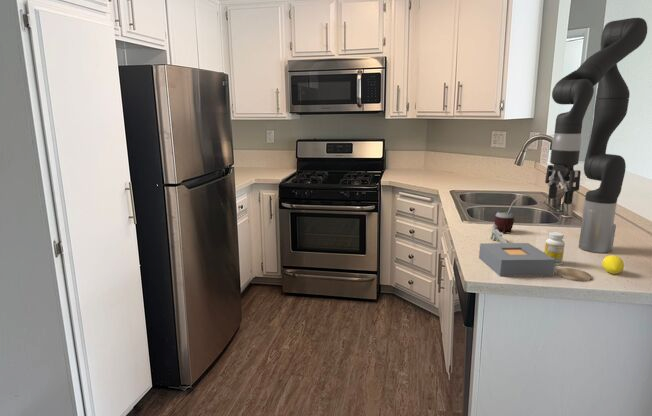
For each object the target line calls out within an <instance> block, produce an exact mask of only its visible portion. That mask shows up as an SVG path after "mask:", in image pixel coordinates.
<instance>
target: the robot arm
mask: <svg viewBox="0 0 652 416" xmlns="http://www.w3.org/2000/svg"><path fill="white" fill-rule="evenodd" d="M647 34H648V24H647V21H646V20H645V19H644V18H641V17H630V18H624V19H618V20H617V19H616V20H611V21H609V22H607V23H606V24H605V25H604V28H603V29H602V33H601V38H600V50H599V51H597V52H594V53H593V54H592V55H590V56H589V57H588V58H586V60H584V61H583V62H582V63H581V64H580V66H578V68H577V69H576V70H573V71H572V72H570V73H569V74H567V75H565V76H564V77H562V78H561V79H560V80H558V81H557V82H556V83H555V85H554V87H553V88H552V92H551V97H552V100H553V101H554V103H556V104H558V105H573V106H572V107H571V109H570V110H569V111H566V112H562V113H559V114H558V115H557V116H556V118H555V125H554V134H553V137H552V142H551V143H552V144H551V152H550V160H549V162H550V164H548V165H547V167H546V173H545V174H546V175H545V181H544V182H545V184H547V186H548V196H547V197H548V199H550V200H551V199H554V200H555V199H556V198H557V193H558V185H559V184H561V186H563V189H564V194H563V202H562V203H563V204H564V205H571V204H572V202H573V198H574V193H575V192H577V191H580V184H581V182H580V181H581V173H582V171H581V170H578V169H577V170H575V168H574V167H575V166H577V165H578V164H579V158H580V153H581V145H582V144H581V143H582V129H583V121H584V117H585V116H586V113H587V111H588V107H589V106H590V103H591V101H592V99H593V96H594V92H595V91H594V89H595V88H594V86H596V85H597V90H596V95H595V101H594V109H593V119H592V125H591V131H590V136H589V142H588V144H587V145H588V147H587V151H586V154H585V158H584V161H583V162H584V164H583V171H584V172H583V174H584V175H585V177H586V178H587V179H589V180H593V181H599V182H600V185H599V187H598V188H595V189H593V190H591V189H590V190H588V191H587V192H586V193H585V198H584V206H583V212H582V219H581V226H580V227H581V228H580V233H579V241H578V248H579V249H581V250H583V251H587V252H591V253H599V254H600V253H603V254H604V253H609V252H613V247H614V243H615V242H614V240H615V236H616V235H615V234H616V227H617V225H616V224H615V217H616V216H615V215H616V211H617V202H618V200H619V199H618V198H619V197H620V194H621V191H622V188H623V187H622V186H623V183H624V179H625V174H626V168H627V166H626V165H627V164H626V160H625V158H624V157H623V156H621V155H618V154H613V153H612V154H610V153H607V147H608V143H609V140H610V138H611V136H612V135H613V133H615V130H616V129H617V128H618V127H619V125H620V124H621V123H622V122H623V120H624V119H625V118H626V116H627V113H628V109H629V100H630V89H629V86H628V85H627V83H626V81H625V80H624V78H623V75H622V74H621V72H620V70H619V67H618V63H619V62H621V61H622V60H624V59H625V58H626V57H628V56H630V54H632V53H633V52H634V51H635V50H637V49H638V48H639V47H641V46H642V44H644V42H645V40H646V38H647Z"/></svg>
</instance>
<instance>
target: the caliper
mask: <svg viewBox="0 0 652 416" xmlns="http://www.w3.org/2000/svg"><path fill="white" fill-rule="evenodd" d="M490 240H492V241H493V242H495V241H496V240H497V242H499V243H509V242H508V241H507V240H506V239H505V238H504V237H503V233H502V232H499V231H498V229H497V226H496V225H495V224H493V226H492V227H491V231H490Z"/></svg>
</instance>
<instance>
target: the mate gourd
mask: <svg viewBox="0 0 652 416" xmlns="http://www.w3.org/2000/svg"><path fill="white" fill-rule="evenodd" d="M520 199H521V197H518V198H515V199H514V200H513V201H512V202H511V205H510V207H509V209H508V211H507V210H504V211H503V210H501V211H500V210H499V211H497V212H496V214H495V216H494V225H496V226H497V229H498V231H499V232H500V233H501V234H502V235H506V232H509V234H510V233H512V228H513V226H514V222H515V216H514V214H513V212H511V210H512V207H513V206H514V205H515V203H516V202H517V201H518V200H520Z"/></svg>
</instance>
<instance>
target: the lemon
mask: <svg viewBox="0 0 652 416" xmlns="http://www.w3.org/2000/svg"><path fill="white" fill-rule="evenodd" d="M601 265H602V267H603V270H604V271H606V272H607V273H609V274H612V275H613V274H614V275H615V274H616V275H617V274H619V273H621V272H622V271H624V267H625V264H624V261H623V259H622V258H621V257H619V256H618V255H611V254H610V255H607V256H605V257H604V258H603V260H602V263H601Z"/></svg>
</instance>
